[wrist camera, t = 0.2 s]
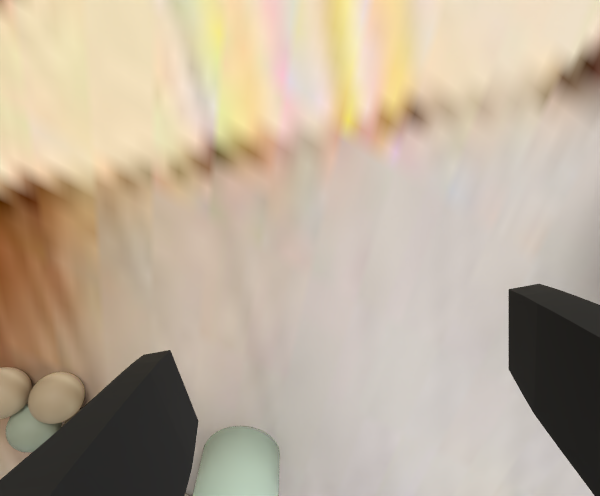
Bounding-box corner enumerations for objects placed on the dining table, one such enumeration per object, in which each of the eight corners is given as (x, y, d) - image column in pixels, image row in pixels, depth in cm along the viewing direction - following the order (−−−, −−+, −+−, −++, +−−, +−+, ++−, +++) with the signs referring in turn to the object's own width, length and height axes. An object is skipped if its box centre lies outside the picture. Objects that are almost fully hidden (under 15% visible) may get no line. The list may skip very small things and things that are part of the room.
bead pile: (128, 423, 22) (111, 461, 20) (51, 446, 23) (26, 486, 21) (67, 336, 20) (39, 368, 18) (-17, 365, 21) (-54, 399, 18)
